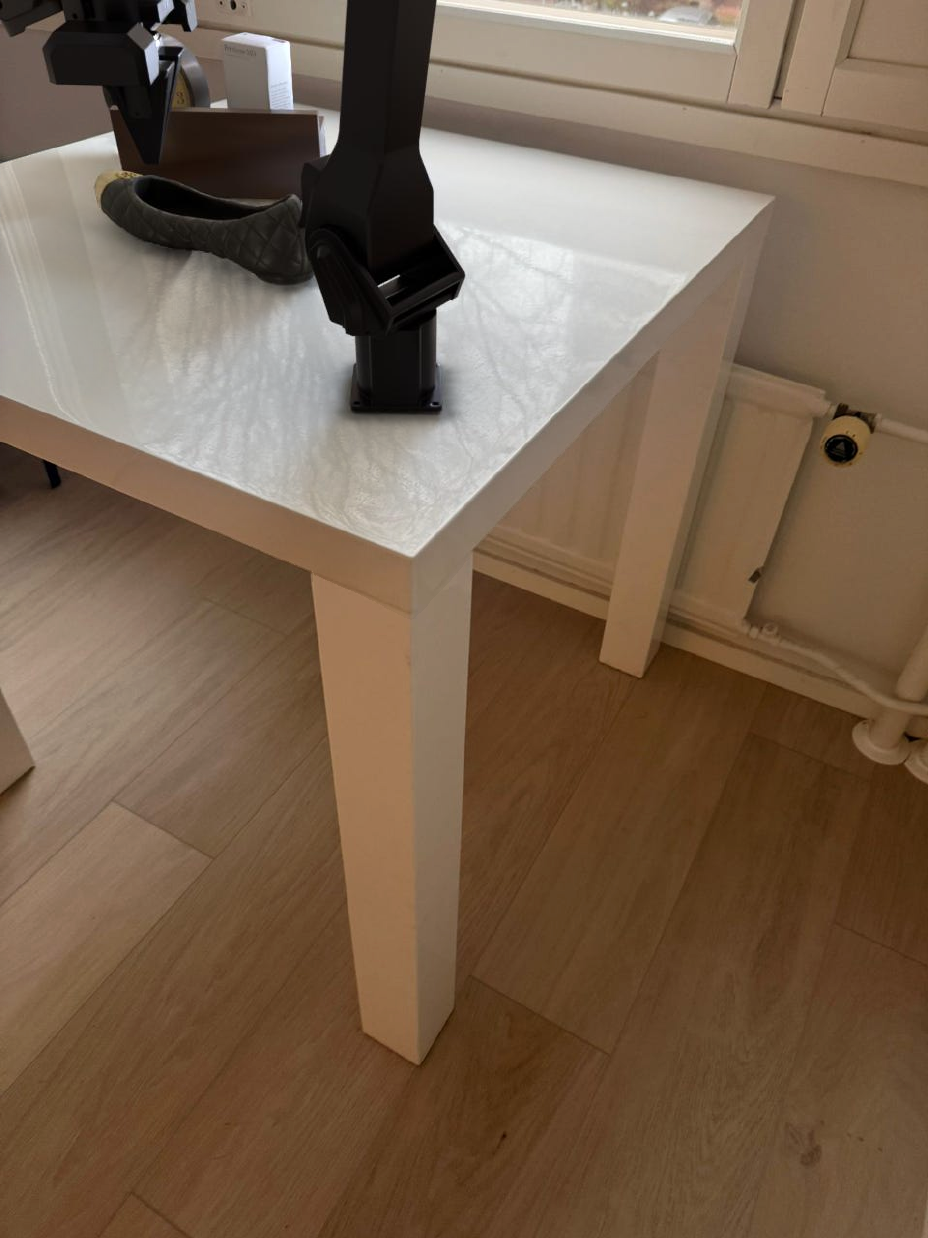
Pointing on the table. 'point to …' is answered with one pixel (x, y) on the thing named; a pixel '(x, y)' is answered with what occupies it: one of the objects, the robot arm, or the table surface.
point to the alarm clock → (182, 81)
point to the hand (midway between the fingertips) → (152, 163)
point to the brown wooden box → (231, 150)
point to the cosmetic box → (257, 72)
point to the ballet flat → (209, 224)
